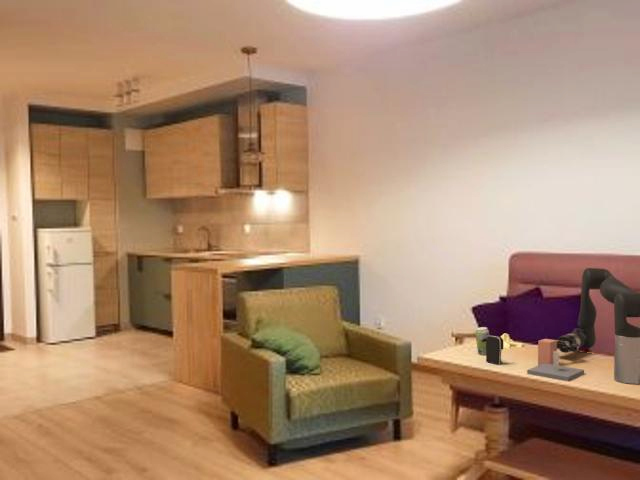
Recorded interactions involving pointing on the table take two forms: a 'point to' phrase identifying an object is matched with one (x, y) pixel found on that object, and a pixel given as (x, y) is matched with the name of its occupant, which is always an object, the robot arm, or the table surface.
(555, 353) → the keyed shaft
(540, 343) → the salmon orange block
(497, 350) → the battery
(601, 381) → the table surface
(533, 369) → the base plate
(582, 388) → the table surface
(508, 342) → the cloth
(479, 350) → the beverage can
